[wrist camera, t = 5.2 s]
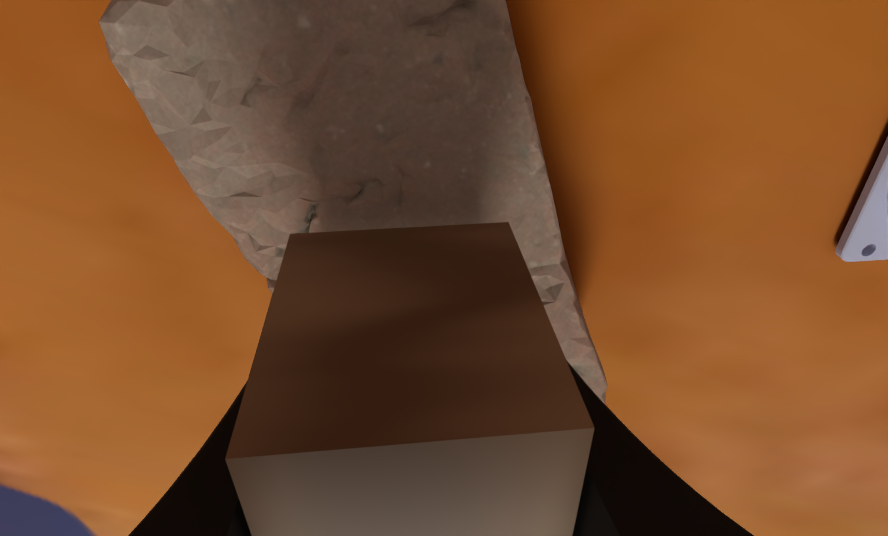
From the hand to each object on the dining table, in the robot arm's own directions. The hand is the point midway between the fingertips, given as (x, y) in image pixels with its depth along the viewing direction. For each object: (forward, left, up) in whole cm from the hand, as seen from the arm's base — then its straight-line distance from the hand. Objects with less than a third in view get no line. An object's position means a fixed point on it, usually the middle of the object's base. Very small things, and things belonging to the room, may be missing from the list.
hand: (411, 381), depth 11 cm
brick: (0, 0, -8) cm, 9 cm away
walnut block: (0, 0, -2) cm, 2 cm away
